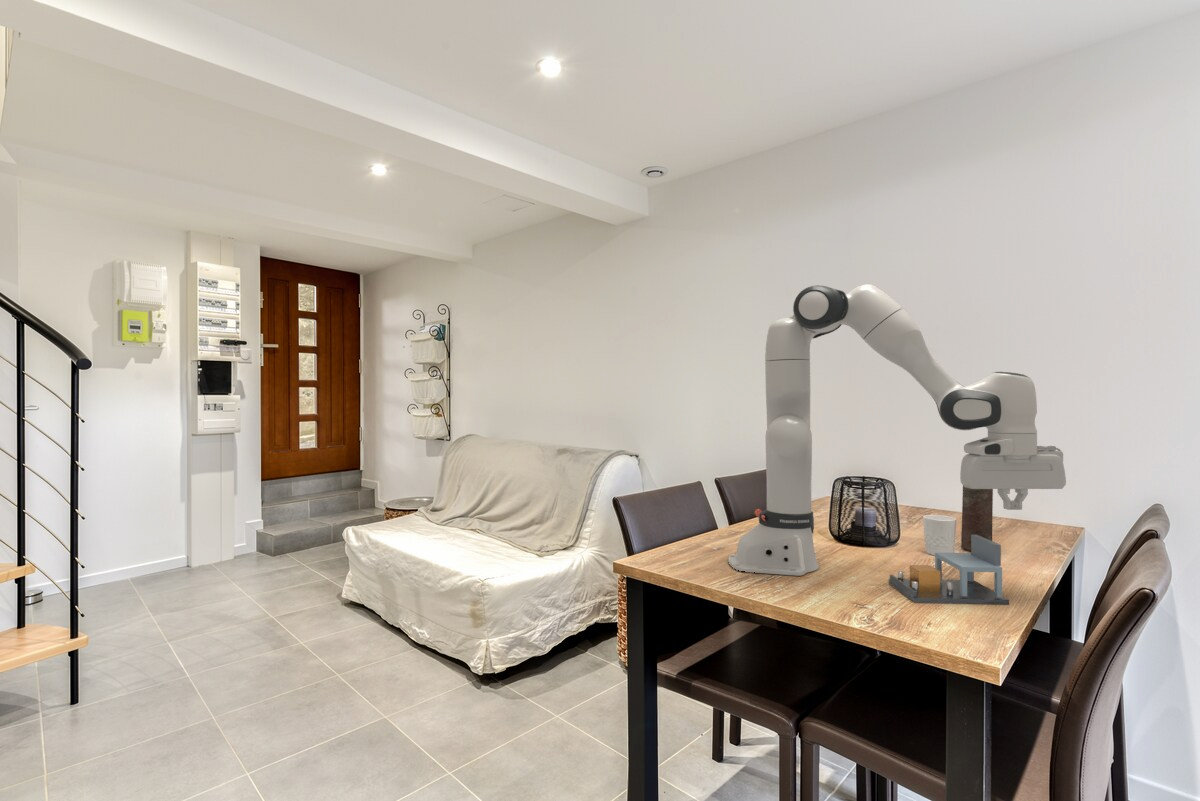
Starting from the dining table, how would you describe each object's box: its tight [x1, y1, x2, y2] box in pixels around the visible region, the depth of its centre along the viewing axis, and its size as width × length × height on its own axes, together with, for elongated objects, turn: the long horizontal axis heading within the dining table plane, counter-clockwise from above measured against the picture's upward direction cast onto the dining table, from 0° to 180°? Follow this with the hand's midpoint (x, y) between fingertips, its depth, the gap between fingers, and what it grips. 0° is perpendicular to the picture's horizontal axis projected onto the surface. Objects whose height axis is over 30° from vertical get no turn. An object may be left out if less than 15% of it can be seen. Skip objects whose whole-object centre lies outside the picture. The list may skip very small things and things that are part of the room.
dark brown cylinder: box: [960, 485, 994, 551], centre depth 164 cm, size 8×7×20 cm
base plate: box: [888, 570, 1010, 606], centre depth 129 cm, size 19×13×4 cm
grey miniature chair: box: [934, 535, 1003, 597], centre depth 128 cm, size 8×12×11 cm
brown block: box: [908, 564, 940, 592], centre depth 129 cm, size 4×4×4 cm
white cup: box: [922, 514, 957, 556], centre depth 161 cm, size 8×8×10 cm
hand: (1012, 509), depth 127 cm, fingers closed
